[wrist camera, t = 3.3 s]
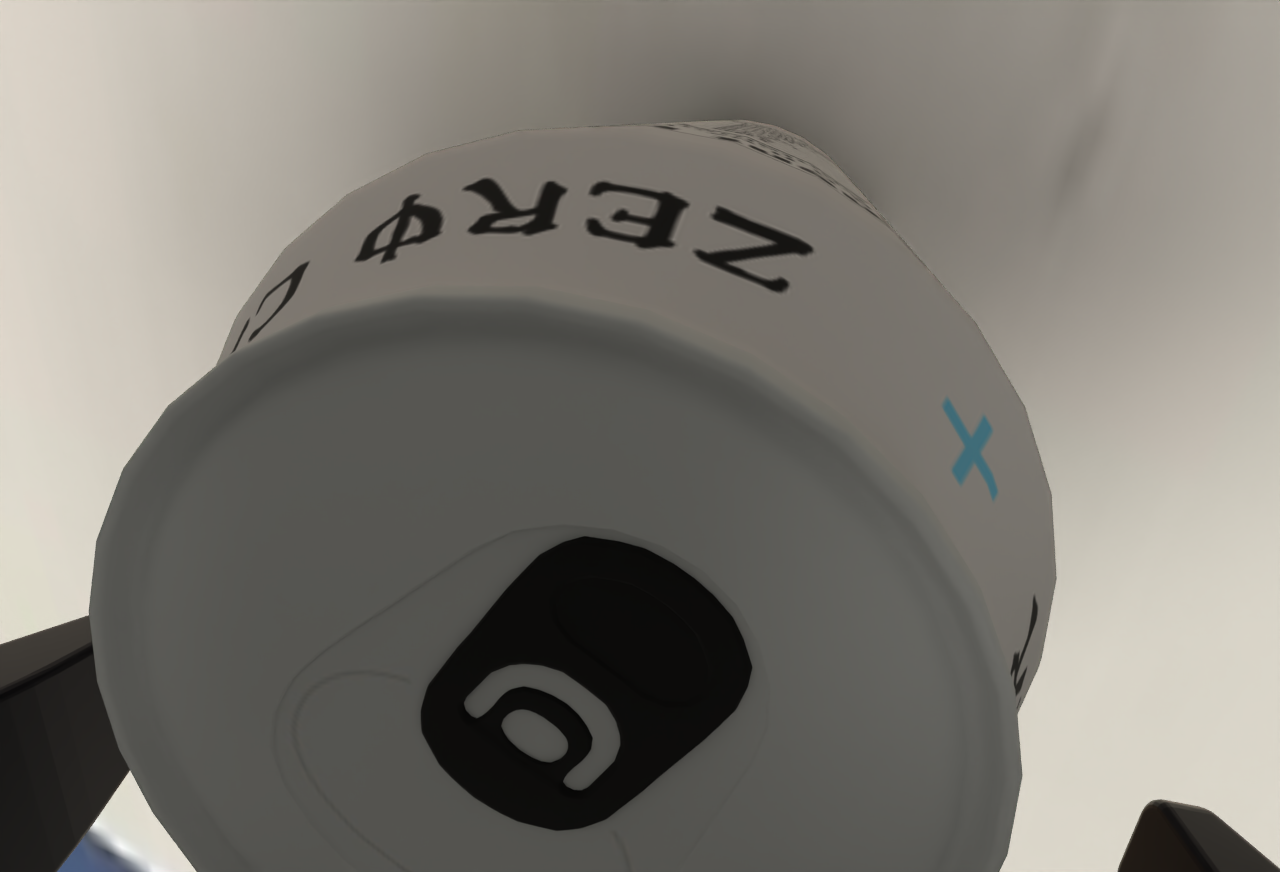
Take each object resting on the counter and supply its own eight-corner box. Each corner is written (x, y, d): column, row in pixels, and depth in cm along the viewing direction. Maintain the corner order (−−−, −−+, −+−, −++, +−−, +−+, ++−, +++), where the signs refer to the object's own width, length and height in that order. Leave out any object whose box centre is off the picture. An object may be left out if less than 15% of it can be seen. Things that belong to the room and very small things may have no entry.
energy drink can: (546, 283, 19) (-136, 740, 5) (713, 54, 16) (289, -265, 3) (745, 444, 19) (622, 1252, 6) (933, 246, 17) (1518, 797, 3)
